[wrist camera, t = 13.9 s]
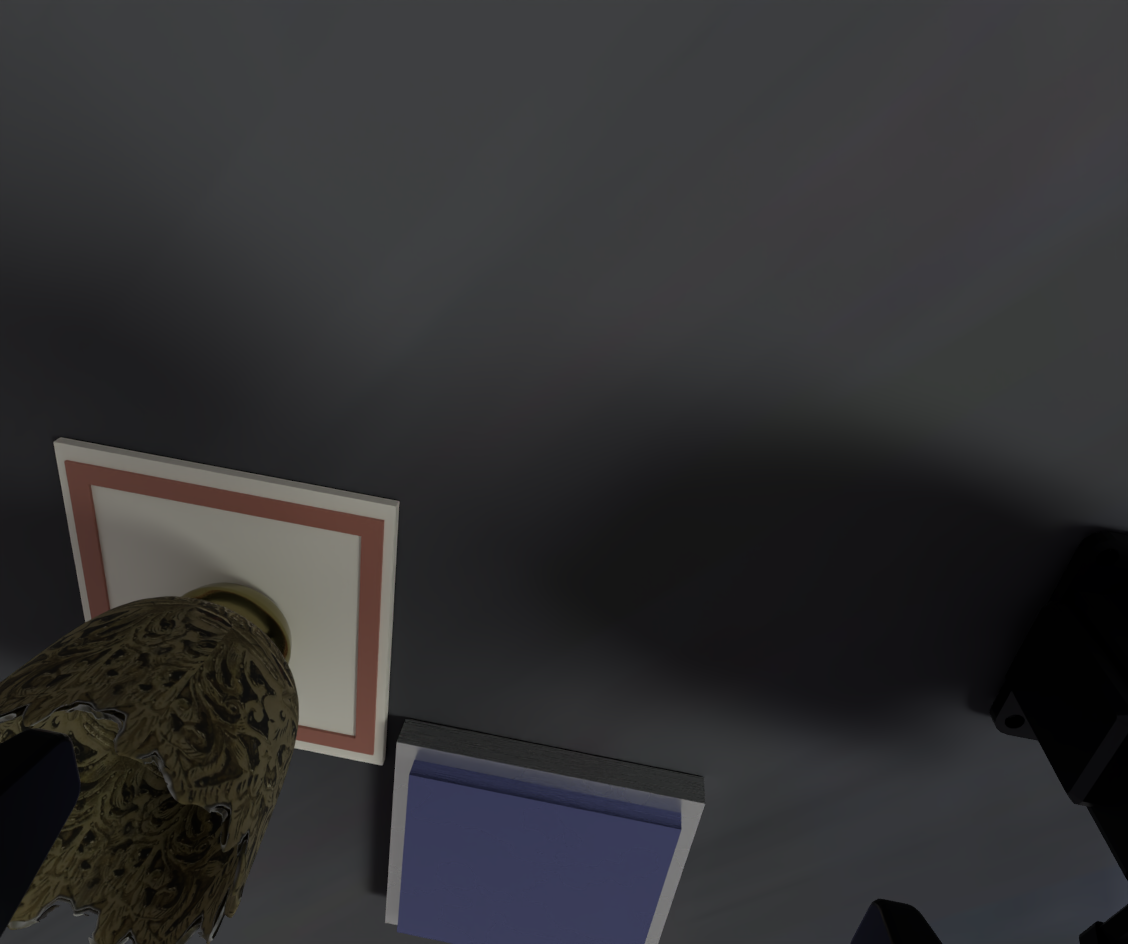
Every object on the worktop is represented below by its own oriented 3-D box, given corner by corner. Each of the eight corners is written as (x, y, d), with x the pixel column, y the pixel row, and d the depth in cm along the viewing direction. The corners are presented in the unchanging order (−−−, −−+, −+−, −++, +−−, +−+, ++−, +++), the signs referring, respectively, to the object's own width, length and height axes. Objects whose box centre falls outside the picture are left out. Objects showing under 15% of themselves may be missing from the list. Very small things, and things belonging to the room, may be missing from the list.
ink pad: (703, 777, 25) (705, 820, 24) (647, 949, 30) (646, 994, 28) (406, 718, 26) (390, 756, 24) (393, 896, 30) (380, 938, 29)
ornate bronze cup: (393, 579, 23) (267, 817, 16) (329, 745, 26) (202, 1001, 19) (139, 476, 22) (-109, 674, 15) (108, 660, 26) (-106, 891, 18)
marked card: (399, 501, 22) (394, 508, 21) (385, 758, 27) (381, 767, 26) (60, 437, 22) (50, 443, 22) (106, 702, 27) (98, 711, 27)
